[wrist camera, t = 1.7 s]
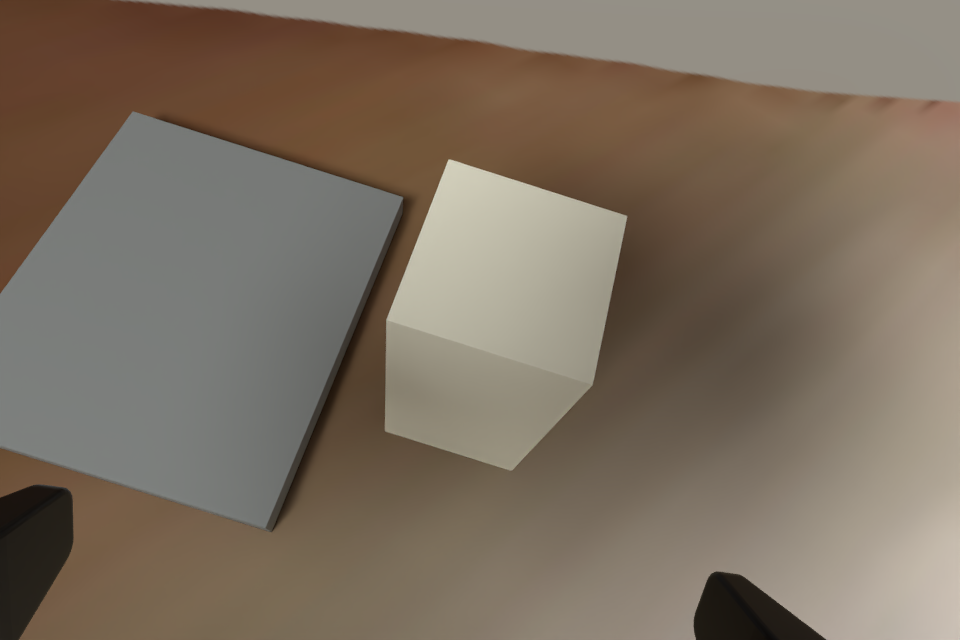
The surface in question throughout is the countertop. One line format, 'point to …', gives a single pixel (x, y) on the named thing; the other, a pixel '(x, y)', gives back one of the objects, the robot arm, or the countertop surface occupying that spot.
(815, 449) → the countertop surface
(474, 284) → the cream brick
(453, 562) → the countertop surface
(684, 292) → the countertop surface
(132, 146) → the grey flat plate
